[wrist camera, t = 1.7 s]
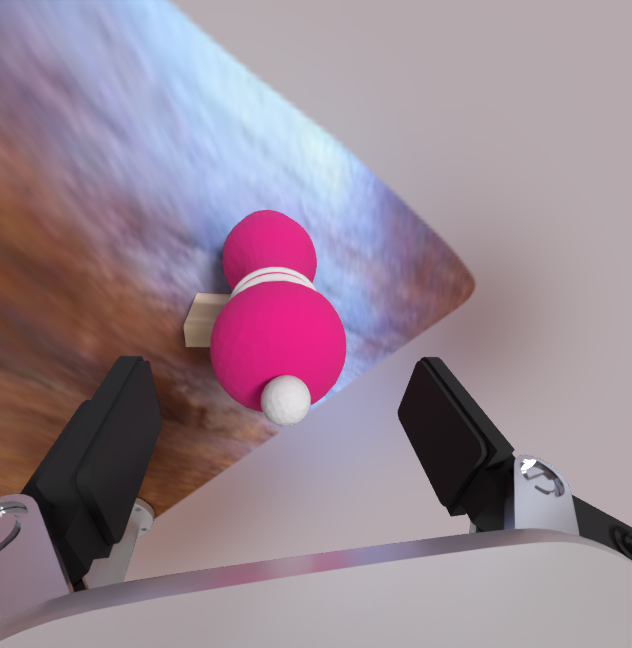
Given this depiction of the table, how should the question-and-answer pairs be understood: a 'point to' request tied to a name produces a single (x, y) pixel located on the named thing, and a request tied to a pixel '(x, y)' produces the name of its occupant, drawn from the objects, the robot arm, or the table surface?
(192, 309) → the oak rail
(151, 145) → the table surface
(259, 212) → the pepper mill
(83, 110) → the table surface
